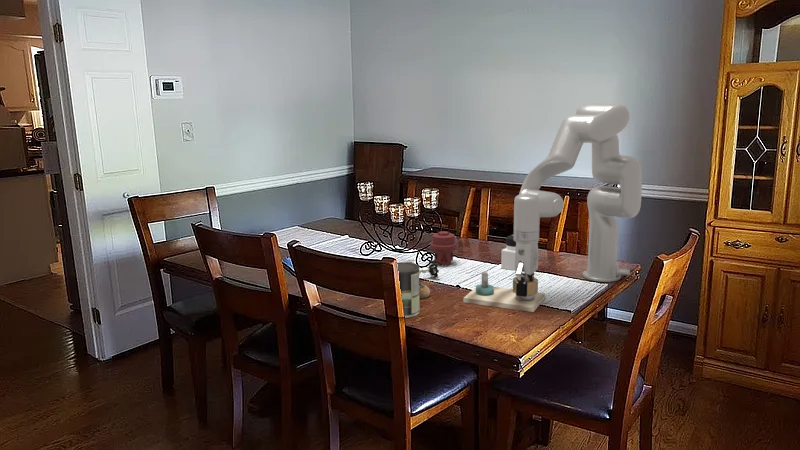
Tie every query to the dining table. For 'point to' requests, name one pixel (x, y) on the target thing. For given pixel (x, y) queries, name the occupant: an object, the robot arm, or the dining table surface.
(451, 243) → the mechanical component
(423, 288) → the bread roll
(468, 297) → the hub board
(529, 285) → the ring
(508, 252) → the medicine bottle
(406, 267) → the coffee can
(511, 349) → the dining table surface
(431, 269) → the valve
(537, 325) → the dining table surface
